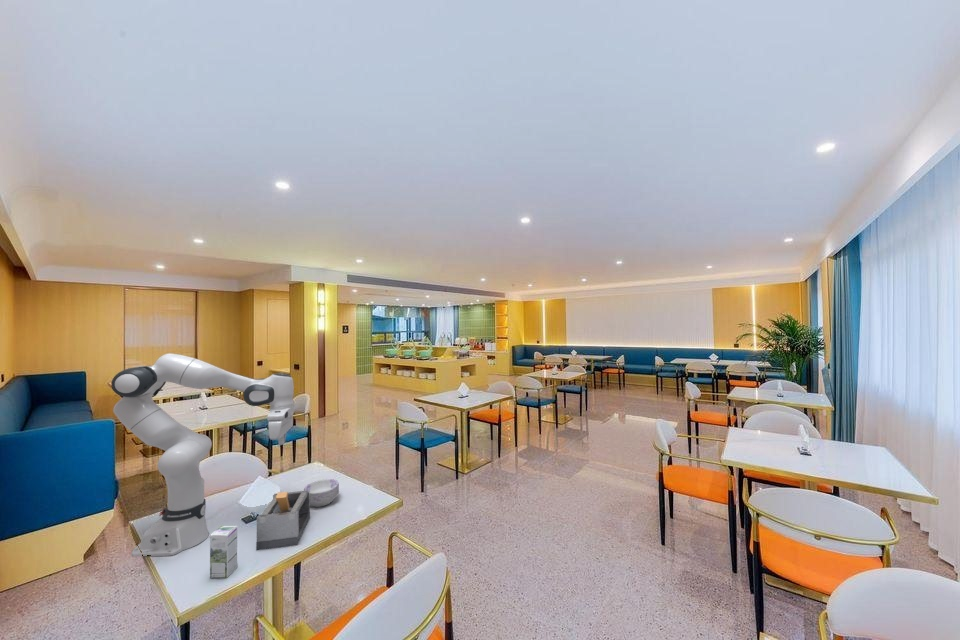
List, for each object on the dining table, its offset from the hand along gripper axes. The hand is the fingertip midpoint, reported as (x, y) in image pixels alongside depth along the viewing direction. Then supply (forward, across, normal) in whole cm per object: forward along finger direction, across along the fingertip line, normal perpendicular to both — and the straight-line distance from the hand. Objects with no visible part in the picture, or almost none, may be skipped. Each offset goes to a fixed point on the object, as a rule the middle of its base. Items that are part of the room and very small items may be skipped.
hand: (281, 443), depth 153 cm
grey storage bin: (+33, +9, +4) cm, 35 cm away
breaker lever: (+24, +9, +4) cm, 26 cm away
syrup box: (+33, +30, -9) cm, 46 cm away
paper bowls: (+33, -15, +13) cm, 39 cm away
